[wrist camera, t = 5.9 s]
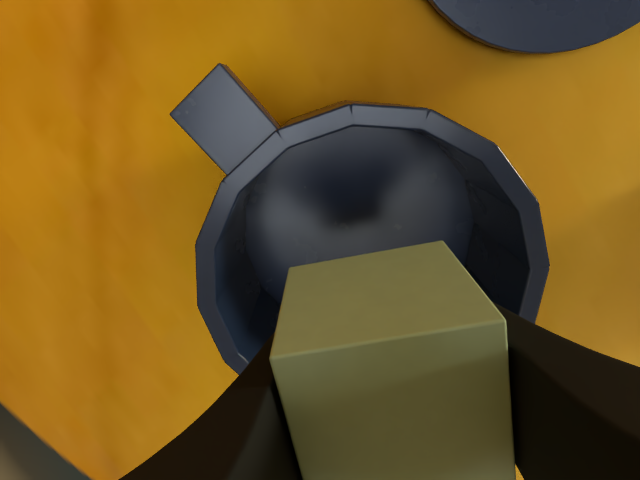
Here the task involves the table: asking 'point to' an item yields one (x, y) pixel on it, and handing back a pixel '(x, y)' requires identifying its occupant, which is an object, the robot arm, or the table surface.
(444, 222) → the pot
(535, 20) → the lid
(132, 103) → the table surface
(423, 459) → the block
